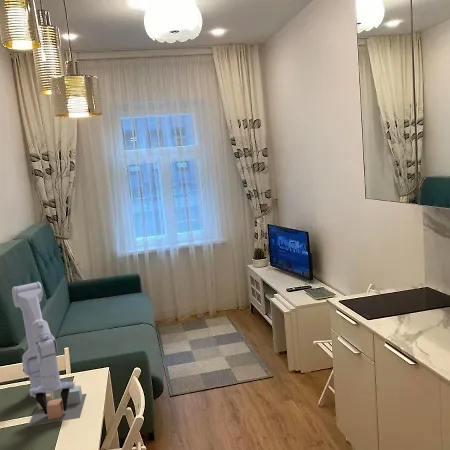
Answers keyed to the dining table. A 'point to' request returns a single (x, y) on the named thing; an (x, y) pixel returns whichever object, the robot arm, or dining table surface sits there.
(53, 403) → the terracotta block
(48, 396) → the birch block
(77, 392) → the slate block
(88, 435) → the dining table surface
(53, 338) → the robot arm
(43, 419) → the mat
